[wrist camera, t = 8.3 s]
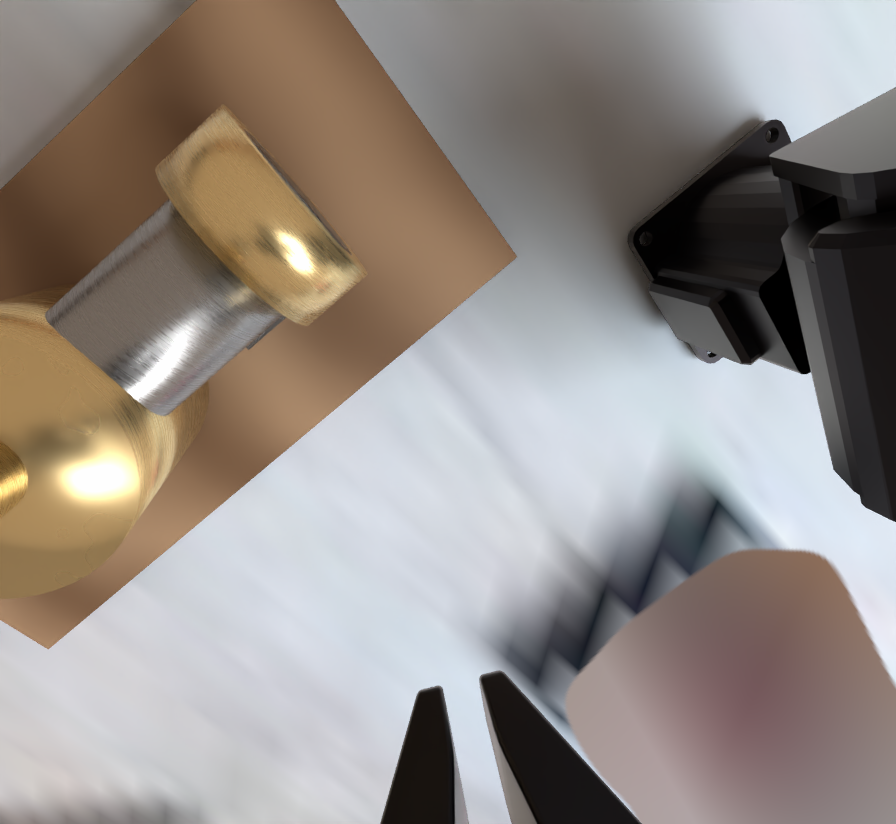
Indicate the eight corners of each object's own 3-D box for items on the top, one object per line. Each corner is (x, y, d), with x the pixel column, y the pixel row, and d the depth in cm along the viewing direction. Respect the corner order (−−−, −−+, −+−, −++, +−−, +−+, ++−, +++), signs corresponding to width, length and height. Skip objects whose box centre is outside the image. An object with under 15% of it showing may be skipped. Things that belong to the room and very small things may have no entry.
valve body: (233, 104, 16) (95, -17, 7) (381, 281, 18) (405, 342, 10) (-182, 491, 17) (-675, 750, 9) (1, 606, 20) (-257, 896, 11)
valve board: (285, -54, 16) (278, -79, 14) (505, 253, 20) (517, 256, 18) (-223, 433, 18) (-272, 452, 17) (67, 621, 22) (48, 649, 21)
